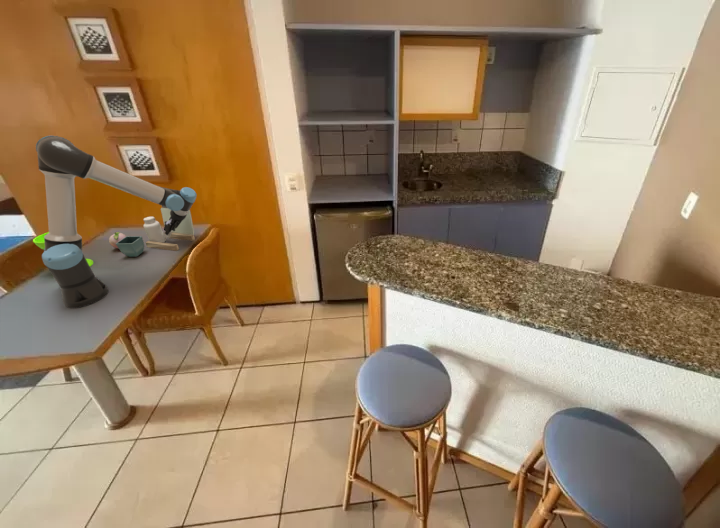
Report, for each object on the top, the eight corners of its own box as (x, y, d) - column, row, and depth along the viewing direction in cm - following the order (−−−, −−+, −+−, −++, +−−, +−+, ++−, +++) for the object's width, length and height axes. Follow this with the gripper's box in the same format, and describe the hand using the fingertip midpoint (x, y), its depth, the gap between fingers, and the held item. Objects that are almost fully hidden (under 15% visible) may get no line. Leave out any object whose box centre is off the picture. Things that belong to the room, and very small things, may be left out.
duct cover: (189, 210, 174) (190, 210, 175) (160, 208, 178) (162, 207, 180) (193, 234, 179) (195, 233, 180) (165, 231, 184) (167, 230, 185)
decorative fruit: (113, 247, 174) (105, 231, 169) (130, 243, 178) (122, 227, 173) (113, 254, 167) (105, 237, 162) (131, 249, 171) (124, 233, 166)
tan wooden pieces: (176, 250, 168) (164, 220, 159) (147, 247, 173) (134, 217, 164) (201, 235, 185) (192, 206, 176) (174, 232, 190) (164, 204, 181)
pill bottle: (151, 240, 180) (141, 217, 173) (166, 238, 183) (157, 214, 175) (150, 246, 174) (139, 221, 166) (166, 243, 177) (156, 219, 169)
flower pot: (138, 258, 162) (131, 243, 157) (122, 258, 162) (114, 243, 158) (148, 250, 170) (142, 236, 165) (133, 250, 170) (126, 236, 165)
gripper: (176, 220, 160) (162, 246, 173) (194, 211, 171) (180, 236, 183) (164, 210, 159) (151, 236, 171) (183, 201, 169) (169, 227, 182)
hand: (166, 236), depth 177 cm, fingers closed
